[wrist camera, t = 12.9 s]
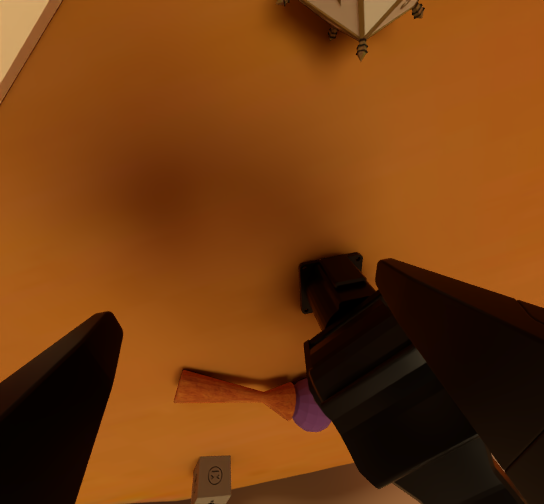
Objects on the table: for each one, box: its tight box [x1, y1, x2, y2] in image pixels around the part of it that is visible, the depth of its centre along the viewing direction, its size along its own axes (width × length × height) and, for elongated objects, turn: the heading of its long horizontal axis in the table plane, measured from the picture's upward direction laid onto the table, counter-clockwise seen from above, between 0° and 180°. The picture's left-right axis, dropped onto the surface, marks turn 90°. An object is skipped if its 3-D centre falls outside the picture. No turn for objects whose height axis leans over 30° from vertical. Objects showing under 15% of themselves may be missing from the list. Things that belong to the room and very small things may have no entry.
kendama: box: [174, 370, 331, 432], centre depth 30 cm, size 6×6×20 cm
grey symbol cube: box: [191, 456, 231, 504], centre depth 39 cm, size 5×5×5 cm
